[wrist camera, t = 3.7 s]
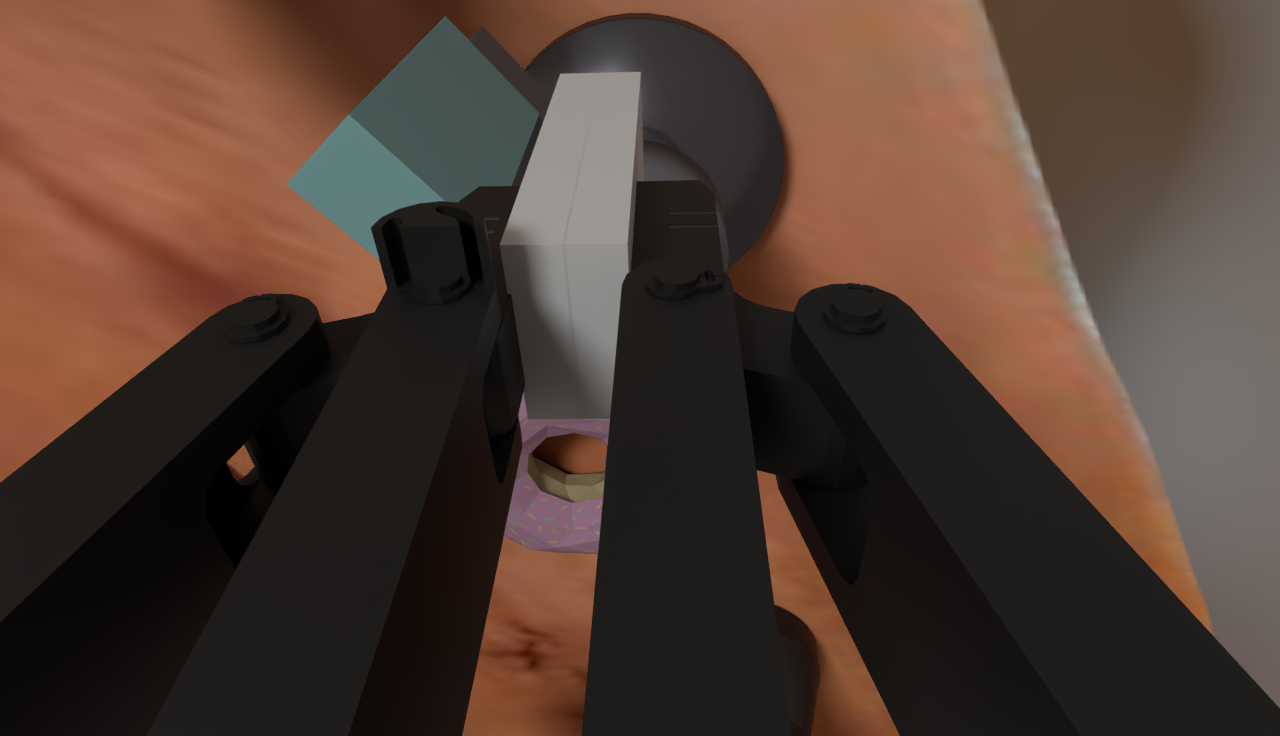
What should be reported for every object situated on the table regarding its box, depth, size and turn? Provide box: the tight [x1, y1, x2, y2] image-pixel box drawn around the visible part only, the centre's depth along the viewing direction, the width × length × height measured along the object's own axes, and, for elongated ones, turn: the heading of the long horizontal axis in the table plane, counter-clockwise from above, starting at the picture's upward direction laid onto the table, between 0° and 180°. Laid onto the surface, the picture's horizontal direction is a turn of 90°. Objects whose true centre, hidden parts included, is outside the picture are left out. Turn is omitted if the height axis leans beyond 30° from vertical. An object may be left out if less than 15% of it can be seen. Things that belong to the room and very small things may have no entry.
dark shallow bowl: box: [512, 13, 783, 268], centre depth 33 cm, size 13×16×6 cm
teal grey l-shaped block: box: [287, 16, 729, 273], centre depth 24 cm, size 14×7×12 cm, turn 42°
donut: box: [504, 392, 610, 554], centre depth 43 cm, size 16×15×5 cm
